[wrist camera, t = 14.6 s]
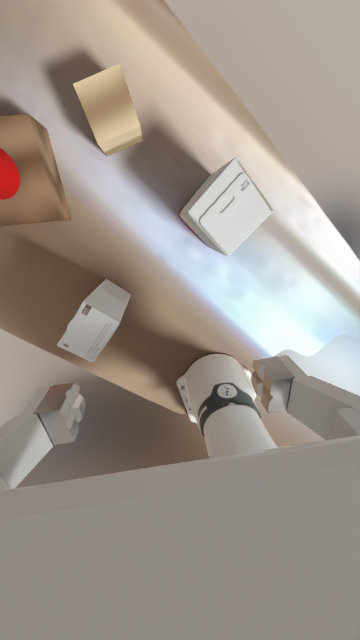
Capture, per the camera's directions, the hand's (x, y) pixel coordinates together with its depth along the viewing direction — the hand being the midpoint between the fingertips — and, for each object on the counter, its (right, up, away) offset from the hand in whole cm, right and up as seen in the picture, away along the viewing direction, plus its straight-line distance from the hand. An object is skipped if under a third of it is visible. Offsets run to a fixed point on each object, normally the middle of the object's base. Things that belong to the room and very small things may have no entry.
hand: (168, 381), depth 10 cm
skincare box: (-14, +7, +33) cm, 37 cm away
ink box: (+6, +22, +29) cm, 37 cm away
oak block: (-9, +32, +22) cm, 40 cm away
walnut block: (-24, +25, +24) cm, 42 cm away
